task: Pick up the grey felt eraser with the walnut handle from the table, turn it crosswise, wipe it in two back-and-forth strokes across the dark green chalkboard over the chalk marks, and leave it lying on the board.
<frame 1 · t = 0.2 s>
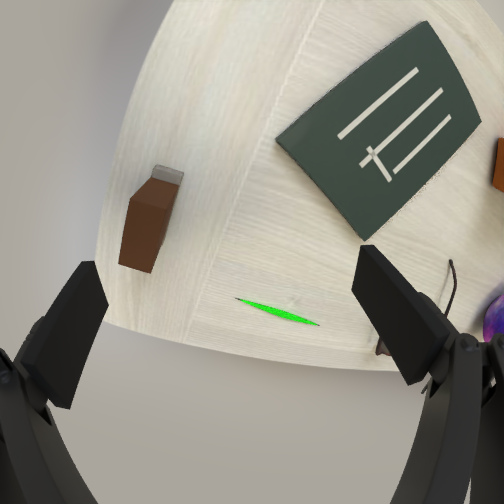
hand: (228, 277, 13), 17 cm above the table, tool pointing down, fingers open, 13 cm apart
leaf: (280, 310, 37), on the table
eyeglasses: (413, 301, 40), on the table
chalkboard: (400, 122, 26), on the table
decorative orb: (491, 306, 46), on the table
eraser: (160, 203, 28), on the table
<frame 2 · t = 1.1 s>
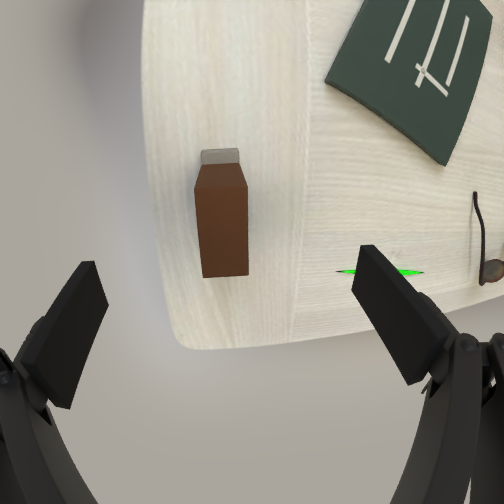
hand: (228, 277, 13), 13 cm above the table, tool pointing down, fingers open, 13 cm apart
leaf: (383, 269, 31), on the table
eyeglasses: (497, 217, 29), on the table
chalkboard: (430, 33, 17), on the table
eraser: (221, 193, 24), on the table
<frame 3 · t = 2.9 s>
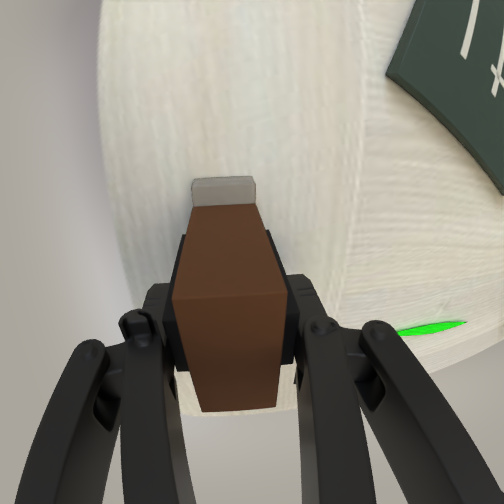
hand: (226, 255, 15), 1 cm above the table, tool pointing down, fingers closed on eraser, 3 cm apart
leaf: (427, 324, 22), on the table
chalkboard: (496, 28, 9), on the table
eraser: (226, 246, 16), on the table, touching gripper
when the fingers open (2 cm above the table, at t = 19.8 s): eraser stays where it is, resting on chalkboard.
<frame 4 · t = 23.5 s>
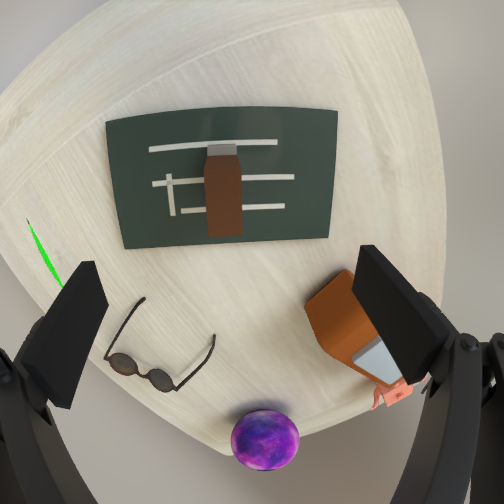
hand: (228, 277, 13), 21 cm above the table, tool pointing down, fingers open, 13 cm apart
leaf: (48, 256, 33), on the table
eyeglasses: (160, 341, 43), on the table
chalkboard: (222, 176, 31), on the table
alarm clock: (360, 316, 45), on the table
decorative orb: (260, 413, 57), on the table
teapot: (387, 370, 55), on the table
eraser: (222, 179, 30), point 1 cm above the table, touching chalkboard
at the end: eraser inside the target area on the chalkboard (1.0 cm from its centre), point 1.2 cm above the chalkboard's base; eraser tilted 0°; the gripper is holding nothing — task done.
